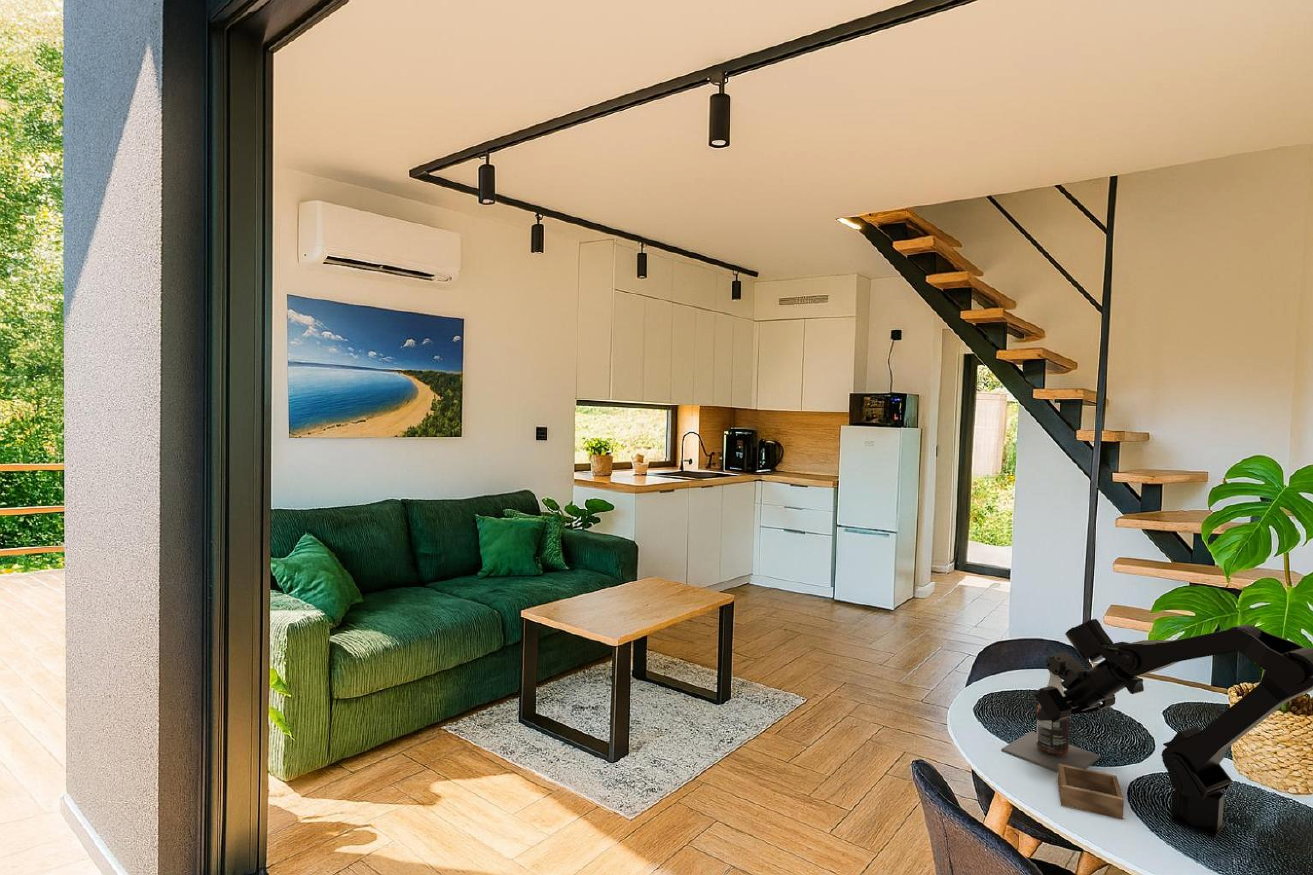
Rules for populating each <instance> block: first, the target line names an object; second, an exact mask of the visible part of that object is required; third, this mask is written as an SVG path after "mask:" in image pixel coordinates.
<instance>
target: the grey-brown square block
mask: <svg viewBox="0 0 1313 875" xmlns="http://www.w3.org/2000/svg"><path fill="white" fill-rule="evenodd" d="M1036 733H1037V732H1035V731H1029V732H1028V733H1025V734H1024V735H1022V736H1021V737H1019V738H1017V739H1015V740H1014V741H1012V742H1010V743H1009V744H1007V745H1006V746H1004V747H1001V749H1000V751H1001V752H1003V753H1005V754H1008V755H1010V756H1013V757H1016V758H1018V759H1021V760H1023V761H1027V762H1028V763H1032V764H1034V765H1036V766H1040V767H1042V768H1045V769H1048V770H1050V771H1052V772H1056V773H1057V774H1058V764H1063V765H1067V766H1072V767H1077V768H1082V769H1087V768H1089V767H1090V766H1092V765H1094V763H1096V762H1097V761H1098V760H1100V759H1101V755H1100V754H1097V753H1094V752H1092V751H1089V750H1085V749H1083V748H1079V747H1077V746H1075V745H1072V744H1069V748H1068V752H1067V753H1066V754H1061V755H1057V754H1051V753H1047V752H1045V751H1043V750H1041V749H1039V748H1038V746H1037V741H1036V739H1037V734H1036Z"/></svg>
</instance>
